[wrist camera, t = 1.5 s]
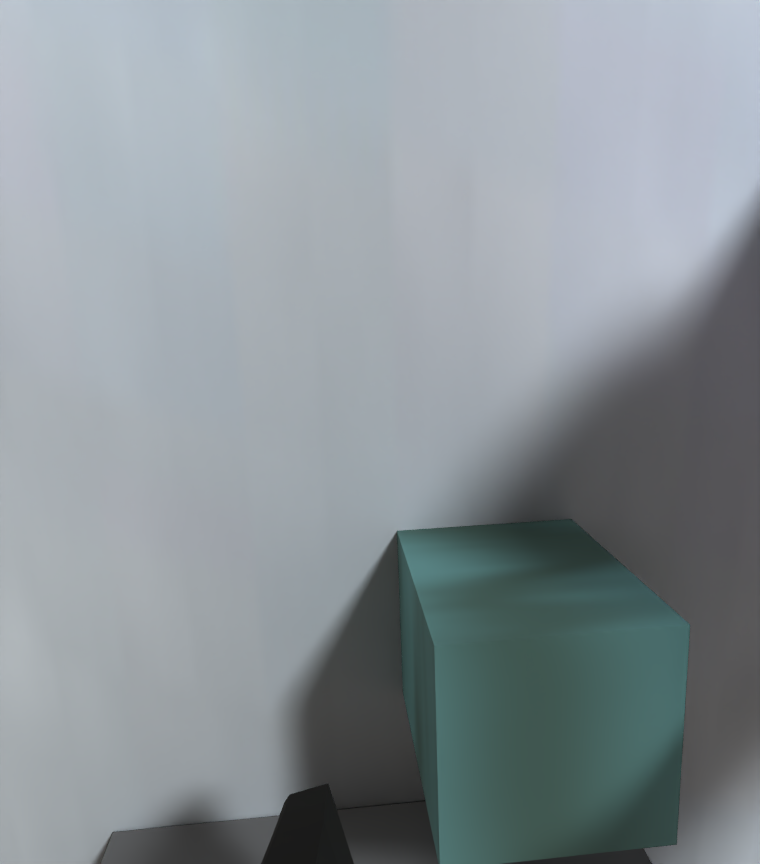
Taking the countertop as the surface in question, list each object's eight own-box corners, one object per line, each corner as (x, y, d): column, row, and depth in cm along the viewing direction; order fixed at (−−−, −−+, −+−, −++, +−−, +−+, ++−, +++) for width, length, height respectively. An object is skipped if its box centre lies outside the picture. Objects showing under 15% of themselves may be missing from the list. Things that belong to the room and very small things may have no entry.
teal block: (570, 518, 15) (689, 624, 10) (567, 676, 16) (676, 844, 11) (396, 530, 15) (434, 645, 10) (402, 690, 16) (440, 870, 11)
